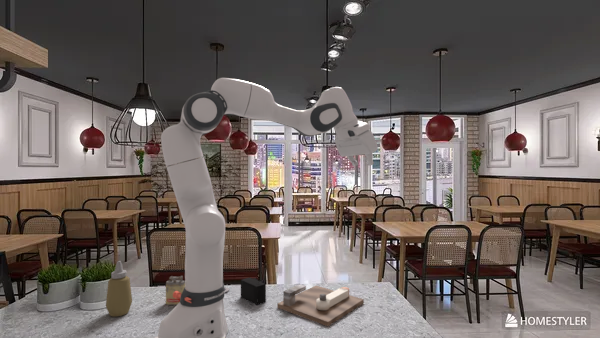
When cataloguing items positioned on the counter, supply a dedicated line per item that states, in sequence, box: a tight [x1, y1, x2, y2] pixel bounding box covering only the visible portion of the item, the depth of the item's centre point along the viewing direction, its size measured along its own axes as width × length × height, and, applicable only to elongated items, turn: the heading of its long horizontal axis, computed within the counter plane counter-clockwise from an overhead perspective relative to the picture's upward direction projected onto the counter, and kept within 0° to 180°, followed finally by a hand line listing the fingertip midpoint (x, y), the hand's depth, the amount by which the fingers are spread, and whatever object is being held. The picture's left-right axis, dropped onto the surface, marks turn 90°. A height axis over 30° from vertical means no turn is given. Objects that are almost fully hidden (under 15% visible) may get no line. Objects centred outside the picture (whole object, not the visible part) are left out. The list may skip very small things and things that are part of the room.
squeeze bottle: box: [105, 260, 133, 318], centre depth 114 cm, size 8×8×18 cm
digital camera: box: [240, 277, 267, 306], centre depth 126 cm, size 10×5×7 cm, turn 45°
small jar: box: [165, 275, 185, 306], centre depth 123 cm, size 7×4×10 cm, turn 89°
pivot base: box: [276, 283, 365, 327], centre depth 121 cm, size 23×22×6 cm
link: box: [316, 286, 350, 311], centre depth 120 cm, size 18×5×2 cm, turn 140°
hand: (363, 165), depth 121 cm, fingers open, 8 cm apart
